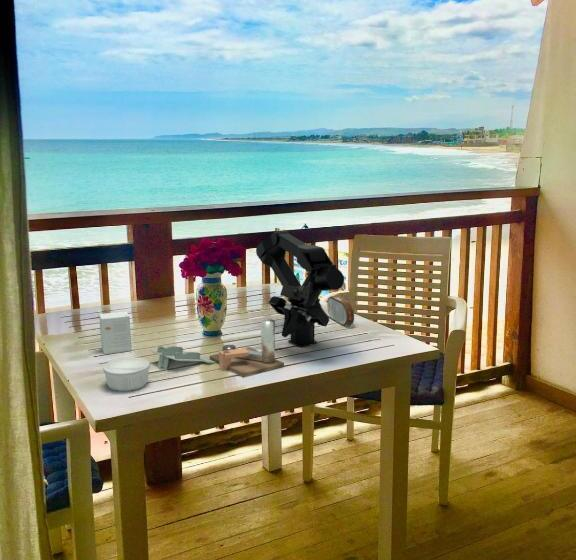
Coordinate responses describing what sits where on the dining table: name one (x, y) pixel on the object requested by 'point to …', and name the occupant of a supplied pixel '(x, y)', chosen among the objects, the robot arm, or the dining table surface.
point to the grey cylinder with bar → (262, 343)
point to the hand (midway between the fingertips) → (283, 336)
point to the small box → (115, 332)
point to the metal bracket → (177, 356)
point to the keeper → (230, 356)
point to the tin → (340, 310)
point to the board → (248, 365)
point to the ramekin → (126, 373)
